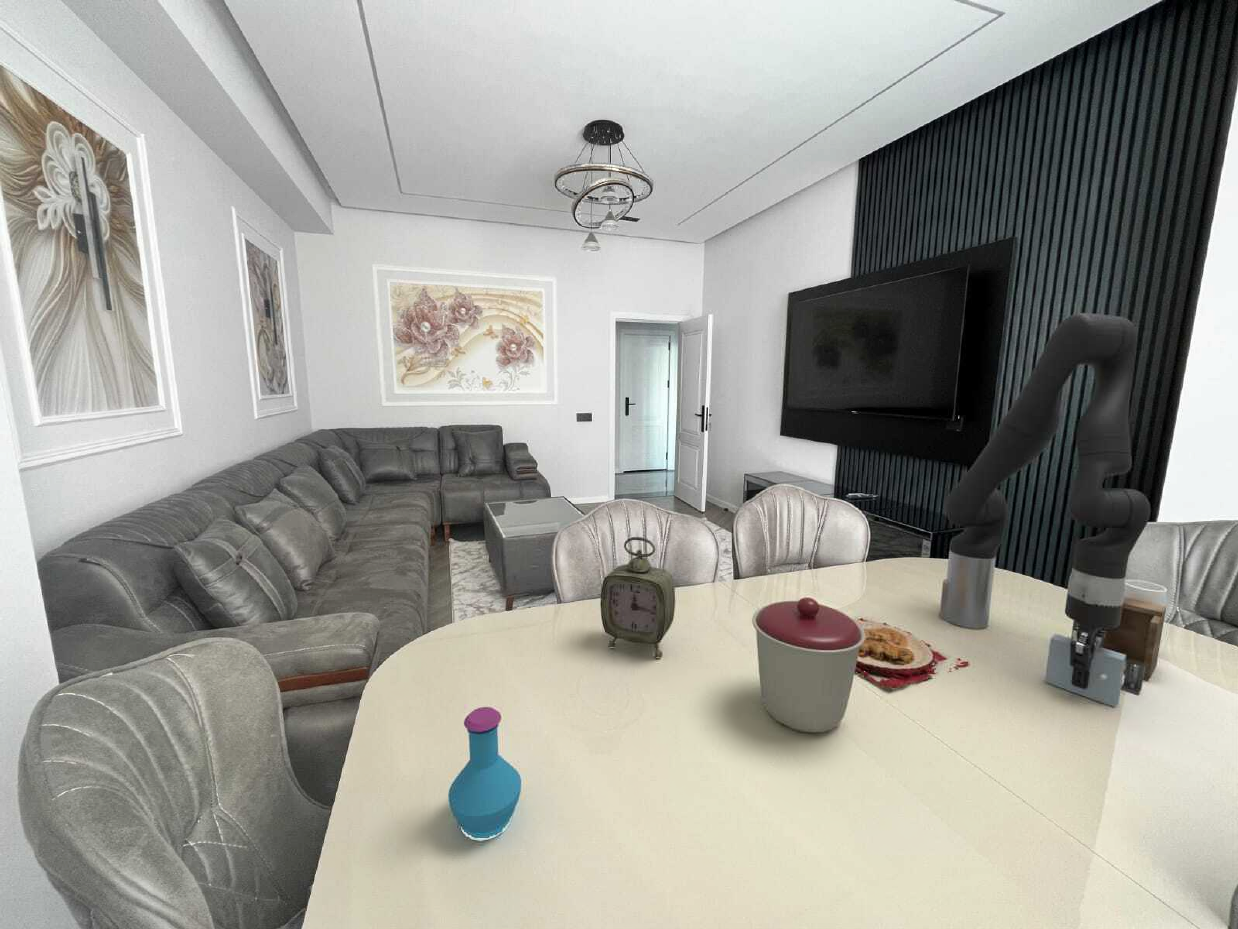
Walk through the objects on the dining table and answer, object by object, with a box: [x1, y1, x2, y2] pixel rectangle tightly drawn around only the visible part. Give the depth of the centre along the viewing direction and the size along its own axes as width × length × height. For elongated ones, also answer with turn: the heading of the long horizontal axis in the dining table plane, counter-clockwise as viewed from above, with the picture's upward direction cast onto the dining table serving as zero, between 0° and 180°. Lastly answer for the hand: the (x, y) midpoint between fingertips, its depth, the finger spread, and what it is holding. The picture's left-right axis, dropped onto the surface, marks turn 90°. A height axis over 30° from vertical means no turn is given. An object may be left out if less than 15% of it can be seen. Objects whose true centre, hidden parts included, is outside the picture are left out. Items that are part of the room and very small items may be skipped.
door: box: [1044, 633, 1126, 708], centre depth 96 cm, size 10×4×9 cm, turn 37°
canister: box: [751, 597, 866, 733], centre depth 89 cm, size 18×18×21 cm
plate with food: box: [852, 617, 970, 690], centre depth 113 cm, size 25×26×4 cm
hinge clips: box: [1120, 660, 1145, 696], centre depth 101 cm, size 11×3×5 cm, turn 37°
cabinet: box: [1070, 597, 1167, 682], centre depth 107 cm, size 12×9×13 cm
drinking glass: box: [1124, 579, 1168, 607], centre depth 111 cm, size 7×7×15 cm
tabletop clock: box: [599, 536, 676, 658], centre depth 111 cm, size 14×9×25 cm, turn 68°
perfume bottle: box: [448, 706, 522, 838], centre depth 67 cm, size 9×9×15 cm
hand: (1081, 683), depth 97 cm, fingers closed on door, 3 cm apart
